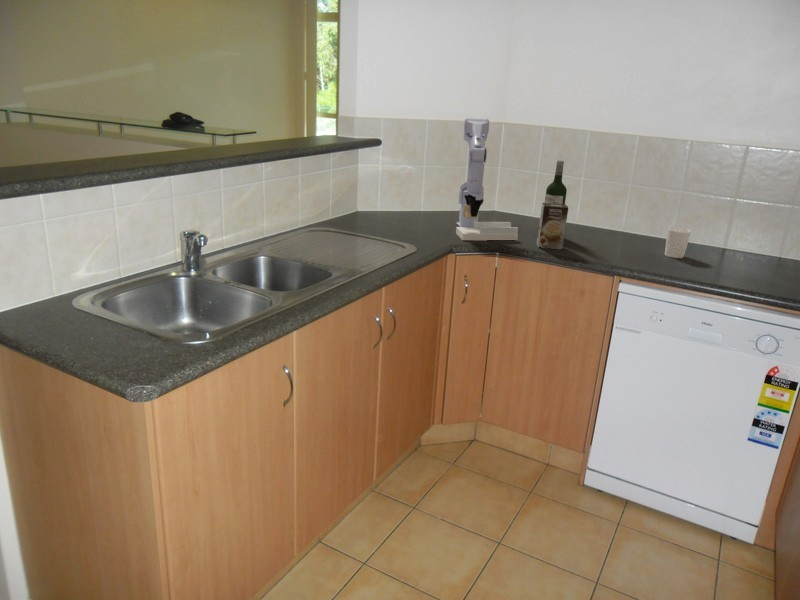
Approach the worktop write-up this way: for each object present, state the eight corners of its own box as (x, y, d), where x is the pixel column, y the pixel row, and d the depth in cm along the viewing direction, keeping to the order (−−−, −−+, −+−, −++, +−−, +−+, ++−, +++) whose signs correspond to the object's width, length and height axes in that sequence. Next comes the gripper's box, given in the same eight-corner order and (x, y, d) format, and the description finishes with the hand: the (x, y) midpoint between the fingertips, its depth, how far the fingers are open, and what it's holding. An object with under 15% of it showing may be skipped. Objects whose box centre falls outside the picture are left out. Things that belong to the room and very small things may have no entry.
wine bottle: (540, 236, 256) (550, 161, 245) (540, 232, 263) (550, 158, 253) (560, 238, 254) (571, 163, 244) (560, 234, 261) (570, 160, 251)
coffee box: (537, 248, 239) (543, 205, 233) (536, 243, 245) (541, 202, 239) (562, 249, 238) (568, 207, 233) (560, 245, 244) (566, 204, 239)
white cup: (658, 253, 240) (663, 227, 237) (674, 252, 243) (679, 226, 240) (673, 259, 234) (678, 232, 230) (690, 258, 236) (695, 232, 233)
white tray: (455, 233, 254) (456, 220, 252) (508, 233, 258) (510, 221, 256) (462, 240, 244) (463, 227, 242) (517, 240, 247) (518, 228, 246)
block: (463, 215, 249) (464, 204, 247) (474, 216, 250) (475, 204, 248) (466, 218, 245) (467, 206, 243) (477, 218, 245) (478, 207, 244)
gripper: (460, 176, 248) (457, 210, 253) (469, 182, 235) (466, 219, 240) (478, 176, 249) (474, 211, 254) (488, 183, 236) (484, 219, 241)
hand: (472, 215), depth 247 cm, fingers closed on block, 4 cm apart
